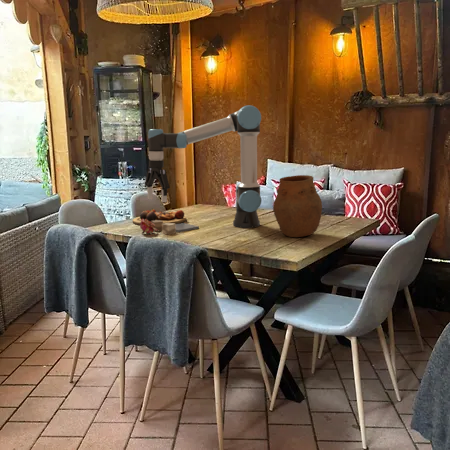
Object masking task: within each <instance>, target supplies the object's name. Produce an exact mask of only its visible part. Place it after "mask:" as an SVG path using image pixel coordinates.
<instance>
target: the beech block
mask: <svg viewBox="0 0 450 450" xmlns="http://www.w3.org/2000/svg"><path fill="white" fill-rule="evenodd" d="M176 233H177V232H176V226H175V224H174V223H165V224H162V231H161V234H162V235H163V234H164V235H173V234H176Z"/></svg>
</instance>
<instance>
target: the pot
mask: <svg viewBox="0 0 450 450" xmlns="http://www.w3.org/2000/svg"><path fill="white" fill-rule="evenodd" d="M272 210H273V214H274V217H275V220H276V222H277V225H278V226H279V230H280V232H282V234H283V235H284V236H286V237H291V238H301V237H306V236H311V235H313V234H314V233H315V232H316V231H317V230H318V228H319V226H320V222H321V219H322V214H323V213H322V212H323V203H322V199H321V196H320V195H319V194H318V192H317V189H316V185H315V183H314V176H313V175H307V174H306V175H305V174H301V175H299V174H298V175H289V176H284V177H281V178H279V184H278V189H277V190H276V198H275V199H274V201H273V206H272Z"/></svg>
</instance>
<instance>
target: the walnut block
mask: <svg viewBox="0 0 450 450" xmlns="http://www.w3.org/2000/svg"><path fill="white" fill-rule="evenodd" d="M151 222H152V223H153V224H155V229H157V230H156V231H155V230H154V232H162V224H163V221H161V220H155V221H151ZM153 228H154V227H153Z"/></svg>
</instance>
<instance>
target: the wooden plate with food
mask: <svg viewBox="0 0 450 450" xmlns="http://www.w3.org/2000/svg"><path fill="white" fill-rule="evenodd" d="M142 218H143V219H144V220H145V219H147V220H148V221H155V220H161V221H163V224H165V223H174V224H181V223H185V222H186V221H187V217H186V216H185V212H184V211H183V210H181V209H179V210H176V211H170V212H163V211H157V210H155V209H154V208H151V209H147V210H143V211H142V212H141V213H140V214H139V216H138V217H135V218H133V219H132V223H133V224H134V225H136V226H141V223H139V222H141V219H142Z"/></svg>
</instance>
